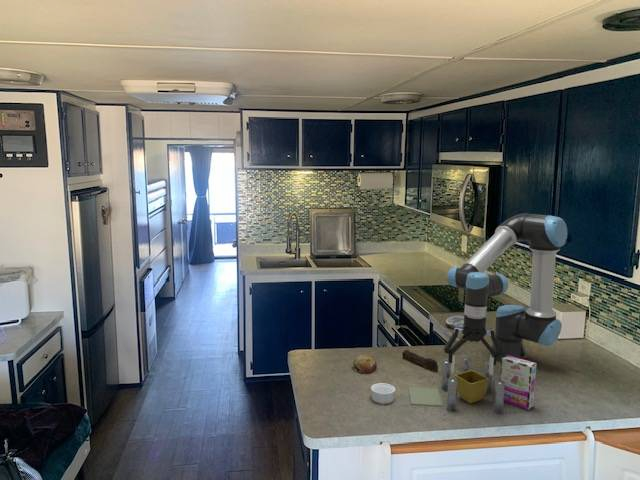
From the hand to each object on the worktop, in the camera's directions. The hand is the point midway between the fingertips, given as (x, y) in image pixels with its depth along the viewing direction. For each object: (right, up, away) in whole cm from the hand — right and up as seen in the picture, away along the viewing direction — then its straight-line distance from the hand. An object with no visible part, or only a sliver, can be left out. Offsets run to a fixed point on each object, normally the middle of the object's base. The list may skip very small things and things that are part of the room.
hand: (471, 372), depth 185 cm
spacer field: (0, -10, +4) cm, 11 cm away
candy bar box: (+16, -11, -1) cm, 20 cm away
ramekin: (-32, -11, +2) cm, 34 cm away
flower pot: (0, -11, +2) cm, 11 cm away
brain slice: (+19, +2, +80) cm, 83 cm away
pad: (-16, -10, +4) cm, 19 cm away
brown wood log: (-12, -6, +33) cm, 35 cm away
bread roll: (-36, -6, +29) cm, 47 cm away
